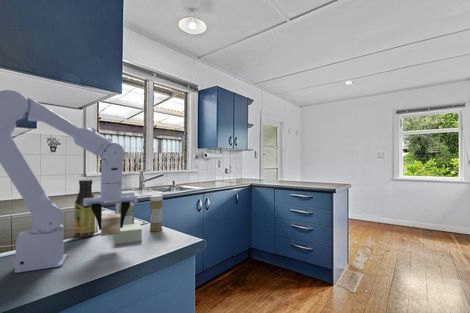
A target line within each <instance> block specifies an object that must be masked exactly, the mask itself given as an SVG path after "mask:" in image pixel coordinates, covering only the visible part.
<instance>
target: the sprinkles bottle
mask: <svg viewBox="0 0 470 313" xmlns="http://www.w3.org/2000/svg"><path fill="white" fill-rule="evenodd" d="M163 197H164V196H163V195H162V194H152V195H150V196H149V200H150V211H149V212H150V213H149V217H150V218H149V223H150V225H149V227H150V228H149V231H150V232H160V231H162V230H163V227H162V225H163V200H164V198H163Z"/></svg>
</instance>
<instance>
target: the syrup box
mask: <svg viewBox="0 0 470 313" xmlns="http://www.w3.org/2000/svg"><path fill="white" fill-rule="evenodd" d="M122 196H136V195H135V191H133V190H122ZM114 202H119V201H114ZM114 205H115V206H114V207H115V209H114V211H115V213H114V214H120V220H121V203H118V204H114ZM126 224H135V203H130V207H129V209H128V211H127V213H126V216H125V219H124V222H123V225H126Z"/></svg>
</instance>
